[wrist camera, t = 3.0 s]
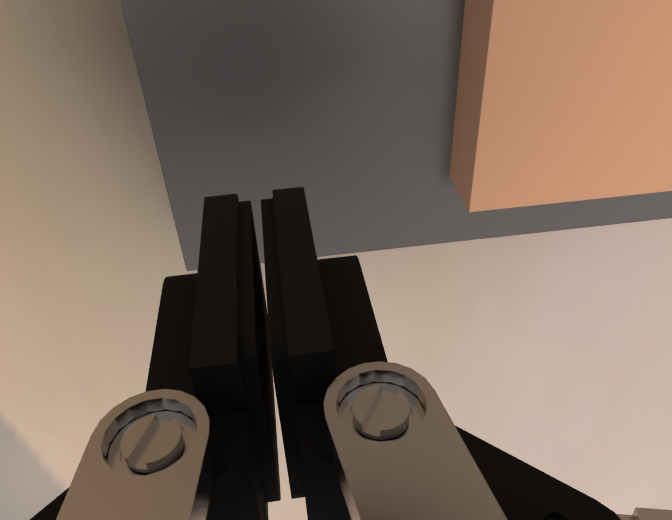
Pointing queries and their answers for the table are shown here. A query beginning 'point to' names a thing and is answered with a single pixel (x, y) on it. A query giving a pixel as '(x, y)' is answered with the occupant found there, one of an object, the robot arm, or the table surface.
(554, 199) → the terracotta tile
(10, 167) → the table surface
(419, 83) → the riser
